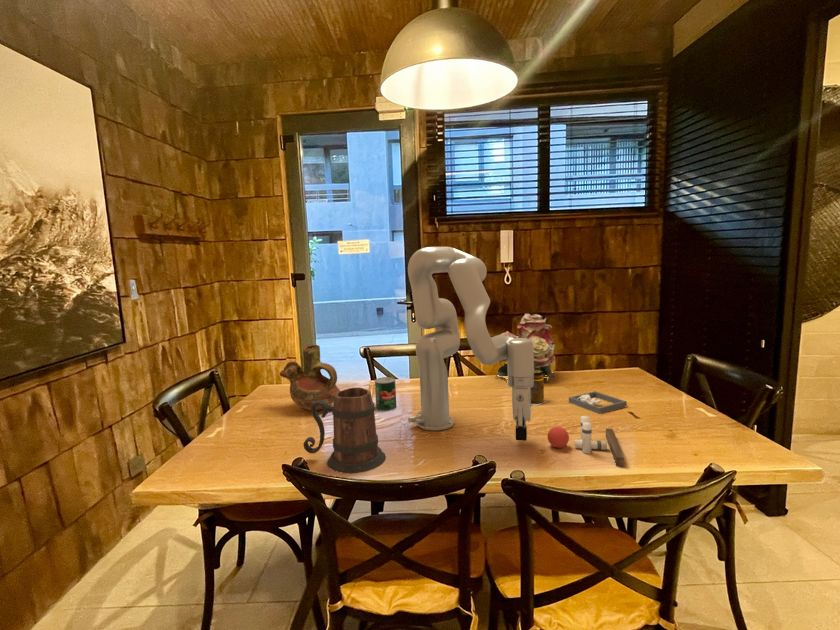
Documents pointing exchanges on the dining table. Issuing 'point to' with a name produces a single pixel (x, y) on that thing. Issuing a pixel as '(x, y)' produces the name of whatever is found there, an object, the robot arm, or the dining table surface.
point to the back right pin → (586, 437)
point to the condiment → (537, 389)
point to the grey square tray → (617, 404)
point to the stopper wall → (615, 447)
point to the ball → (558, 437)
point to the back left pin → (584, 419)
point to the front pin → (593, 444)
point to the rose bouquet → (535, 344)
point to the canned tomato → (385, 393)
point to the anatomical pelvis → (589, 399)
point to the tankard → (350, 432)
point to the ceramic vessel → (311, 380)
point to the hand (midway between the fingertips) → (521, 439)
